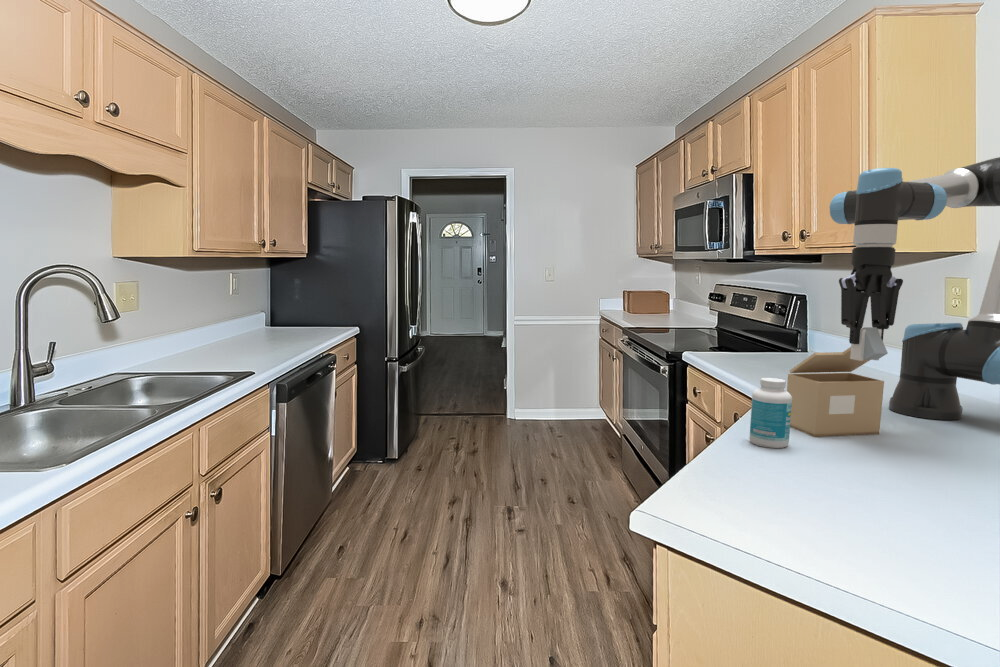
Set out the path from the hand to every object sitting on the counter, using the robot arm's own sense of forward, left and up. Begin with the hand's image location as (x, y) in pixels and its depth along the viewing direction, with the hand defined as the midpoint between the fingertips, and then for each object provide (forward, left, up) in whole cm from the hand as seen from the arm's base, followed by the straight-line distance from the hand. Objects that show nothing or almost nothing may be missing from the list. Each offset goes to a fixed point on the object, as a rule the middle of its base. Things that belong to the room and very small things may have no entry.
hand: (864, 359), depth 121 cm
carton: (0, -8, -17) cm, 19 cm away
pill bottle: (+21, 0, -18) cm, 27 cm away
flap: (0, -3, -3) cm, 4 cm away
